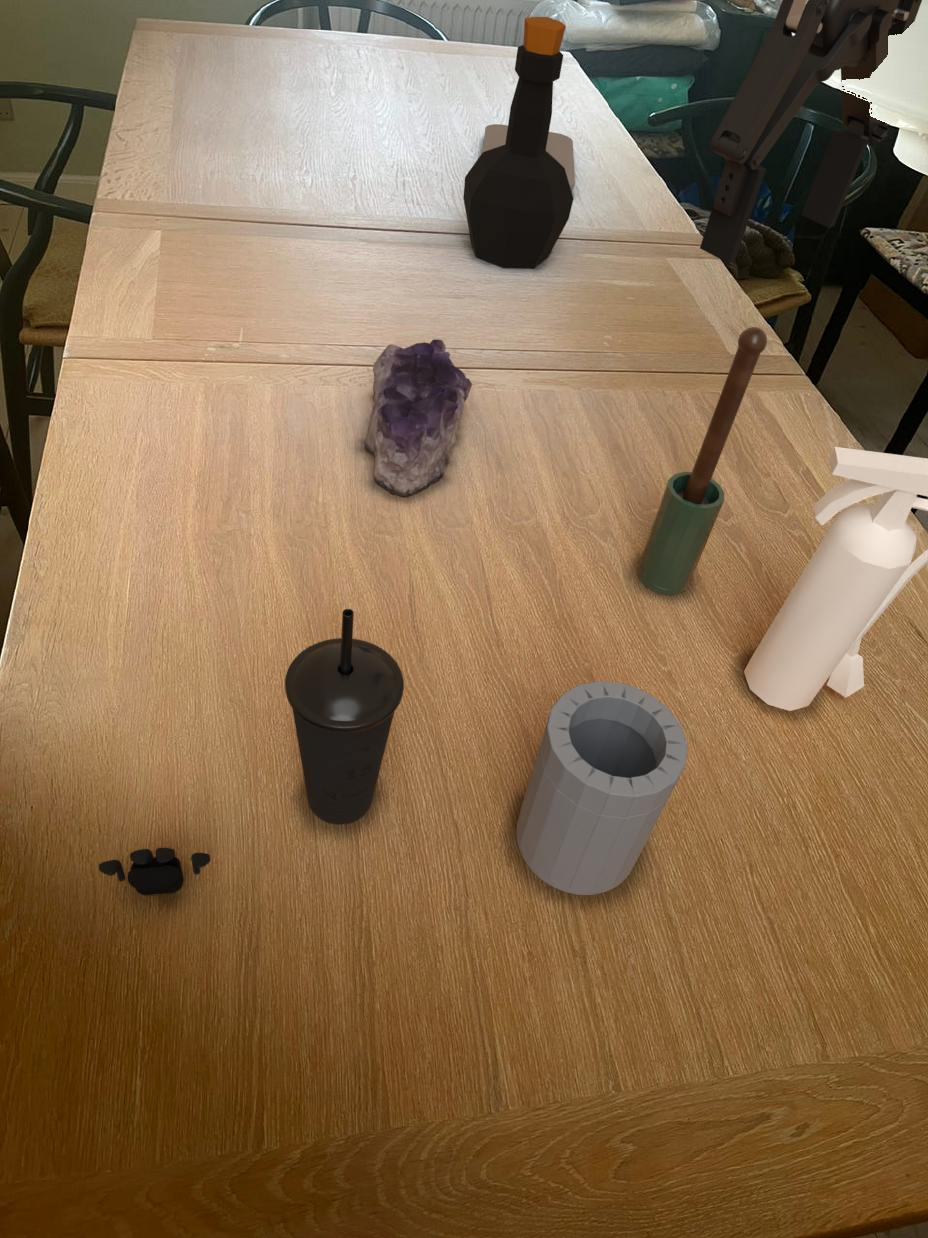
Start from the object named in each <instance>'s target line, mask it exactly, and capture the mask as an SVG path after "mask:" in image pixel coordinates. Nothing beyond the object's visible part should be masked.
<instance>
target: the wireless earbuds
mask: <svg viewBox="0 0 928 1238" xmlns="http://www.w3.org/2000/svg"><path fill="white" fill-rule="evenodd" d="M154 855H155V856H154ZM129 859H130V861H131V862H132V864H131V866H130V869H129V871H128V872H127V877H126V875H125V871H124V867H123V864H122V862H121V860H119V859H111V860H106V861H102V862H101V863H99V864H98V871H99V872H101V873H102V874H103V875H106V876H110V877H111V876H114V875H117V879H118V881H119V882H121V883H122V882H125V880H126V878H127V882H128V884H129V885H130V886H131V887H132V888H134V889H135V891H136V892H137V893H138V894H139V895H141V896H153V895H163V894H173V893H176V892H178V891H179V890H181V889H182V887H183V885H184V882H185V881H184V874H183V868H182V863H181V860H180V859H179V858H178V857H177V856H176V852H175V849H173V848H170V847H157V848H156V849H155V851H154V854H153V851H152V850H151V849H149V848H143V849H136V850H134V851H131V852H130V854H129ZM190 860H191V865H192V866H191V867H192V872H193V874H194V875H195V876H198V875H200V873H201V868H203V867H205V866H207V865H208V864H209V863H211V854H210V853H205V852H194V853H192V854H191V857H190Z"/></svg>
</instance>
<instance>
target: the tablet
mask: <svg viewBox="0 0 928 1238" xmlns="http://www.w3.org/2000/svg"><path fill="white" fill-rule="evenodd" d="M507 129H508V124H499V123H493V124H488V125H486V126H485V129H484V134H483V135H484V136H483V144H482V149H481V153H482V152H485V151H488V150H491V149H494V148H497V147H499V146H502V145H505V143H506V136H507ZM546 151H547V152H548V153H549V154H550V155H551V156H553V157H554V158H555V159H556V160H557V161H558V162H559V163H560V164H561V165H562V166H563V167H564V168H565V171H566V175H567V178H568V181H569V185H570V188H571V190H573V189H574V188H575V185H576V175H575V174H576V173H575V156H574V141H573V139H572V138H571V137H569V136H567V135H565V134H563V133H560V132H559V133H558V132H553V131H549V134H548V140H547V145H546Z"/></svg>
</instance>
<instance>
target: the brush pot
mask: <svg viewBox="0 0 928 1238" xmlns="http://www.w3.org/2000/svg"><path fill="white" fill-rule="evenodd" d="M691 473H692V471H682V472H676V473H675V474H673V475H672V476H671V477H669V478H668V480H667V483H666V485H665V488H664V491H663V494H662V496H661V500H660V502H659V506H658V508H657V511H656V514H655V517H654V519H653V522H652V525H651V528H650V531H649V534H648V537H647V538H646V541H645V545H644V548H643V550H642V554H641V557H640V560H639V563H638V566H637V571H636V573H637V574H636V575H637V577H638V579H639V582H641V584H642V585H643V586H645V588H646V589H648V590H650V591H652V592H654V593H657V594H660V595H664V596H676V595H679V594H681V593H683V592H685V591H687V589H688V588H689V585H690V583H691V581H692V579H693V577H694V574H695V573H696V570H697V566H698V564H699V562H700V560H701V557H702V555H703V552H704V550H705V547H706V545H707V543H708V540H709V539H710V536H711V533H712V531H713V528H714V525H715V523H716V521H717V518H718V516H719V514H720V511H721V509H722V507H723V504H724V502H725V491H724V489H723V487H722V486H721V485H720V484H719V483H718V482H717V481H715V480H714V479H713V478H711V481H710V483H709V486H708V488H707V491H706V493H705V497H706V498H707V499H708V501H709V504H707V505H702V504H694V503H692V502H689V501H686V500H684V499H683V498H682V497H680V496H679V495H678V494H677V492H678V491H680V490H683V489H686V487H687V484H688V481H689V479H690V476H691Z"/></svg>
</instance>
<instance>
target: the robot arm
mask: <svg viewBox="0 0 928 1238" xmlns="http://www.w3.org/2000/svg"><path fill="white" fill-rule="evenodd" d="M922 1H923V0H781V3H780V6H779V9H778V11H777V14H776V17H775V20H774V22H773V25H772V28H771V30H770V31H769V33H768V35H767V37H766V39H765V41H764V43H763V45H762V46H761V48H760V49H759V52H758V53H757V55H756V57H755V59H754V61H753V62H752V64H751V66H750V68H749V70H748V72H747V73H746V75H745V78H744V80H743V81H742V82H741V85H740V87H739V89H738V90H737V92H736V94H735V95H734V97H733V99H732V101H731V103H730V105H729V107H728V108H727V110H726V112H725V114H724V116H723V118H722V119H721V122H720V123H719V125H718V127H717V129H716V131H715V132H714V135H713V136H712V138H711V140H710V143H709V150H710V151H711V152H714V153H715V154H717V155H718V156H721V157H723V158H724V159H725V164H724V167H723V171H722V173H721V178H720V181H719V184H718V187H717V191H716V194H715V197H714V200H713V205H712V208H711V211H710V214H709V217H708V220H707V224H706V226H705V230H704V234H703V236H702V240H701V243H700V247H699V249H701V250H702V251H704V252H706V253H707V254H710V255H712V256H714V257H715V258H717V259H720V260H721V261H723V262H725V263H727V264H731V263H734V262H735V261H736V258H737V256H738V253H739V250H740V247H741V244H742V241H743V237H744V236H745V232H746V229H747V226H748V224H749V221H750V217H751V215H752V212H753V209H754V206H755V203H756V201H757V198H758V194H759V191H760V188H761V187H762V182H763V180H764V176H765V174H766V171H767V168H765V167H763V166H761V163H762V162H763V160H764V159H765V158H766V157H767V155H768V154H769V152H770V151H771V149H772V148H773V147H774V145H775V144H776V142H777V141H778V140H779V138H780V137H781V136H782V134H783V132H784V131H785V130H786V128H787V127H788V126H789V124H790V123H791V121H792V120H793V118H794V117H795V116H796V114H797V113H798V112H799V110H800V109H801V107H802V106H803V105H804V104H805V102H806V101H807V99H808V98H809V96H810V95H811V93H812V92H813V91H814V89H815V88H816V86H817V85H818V84H819V83H822V82H826V81H828V80H829V79H830V78H831V77H832V76H833V75H834V73H835V72H836V71H839V70H840V82H842V80H846V79H859V80H860V79H864V78H870V76H871V74H872V72H874V71H875V70H876V69H877V68H878V66H879V65H880V64H881V63H882V62H883V60H884V59H885V58H886V57H887V55H888V36H889V35H895V34H896V35H897V34H902V33H903V32H904V31H905V30H906V29H907V28H909V26H910V25H911V24H912V23H913V22H914V23H915V21H916V19H917V18H916V17H917V15H918V12H919V10H920V8H921V5H922ZM793 34H794V35H793ZM842 87H844V86H842ZM843 90H845V89H843ZM847 92H850V91H847ZM851 93H852V94H855V93H853V92H851ZM852 94H849V93H846V92H844V91H842V90H841V112H842V113H841V117H842V127H843V128H845V130H843V129H841V128H837V129H833V131H832V133H831V136H830V139H829V141H828V144H827V146H826V149H825V151H824V152H825V153H824V154H823V157H822V159H821V163H820V165H819V167H818V170H817V173H816V176H815V178H814V180H813V182H812V186H811V188H810V191H809V193H808V197H807V199H806V202H805V204H804V207H803V209H802V212H801V216H802V217H804V218H806V219H808V220H810V221H813V222H815V223H817V224H819V225H822V226H823V227H825V228H828V229H830V228H833V227H835V225H836V222H837V220H838V218H839V215H840V213H841V210H842V207H844V206H843V205H844V203H845V200H846V198H847V195H848V194H849V192H850V188H851V187H852V185H853V181H854V179H855V176H856V174H857V172H858V170H859V167H860V164H861V161H862V159H863V157H864V154H865V152H866V149H867V147H868V145H869V142H870V140H869V139H871V140H874V141H876V142H878V143H880V142H883V140H884V139H885V138H886V137H887V135H888V132H889V125H890V124H887V123H885V122H882V121H880V120H877V119H876V118H873V117H871V116H870V113H869V109H870V103H871V104H872V102H870V103H869V102H868V101H865V100H863V99H866V98H864V97H862V98H863V99H860V98H857V97H856V94H855V96H854V95H852ZM858 97H860V95H858ZM866 100H867V99H866ZM871 110H872V108H871ZM871 114H872V112H871Z"/></svg>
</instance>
